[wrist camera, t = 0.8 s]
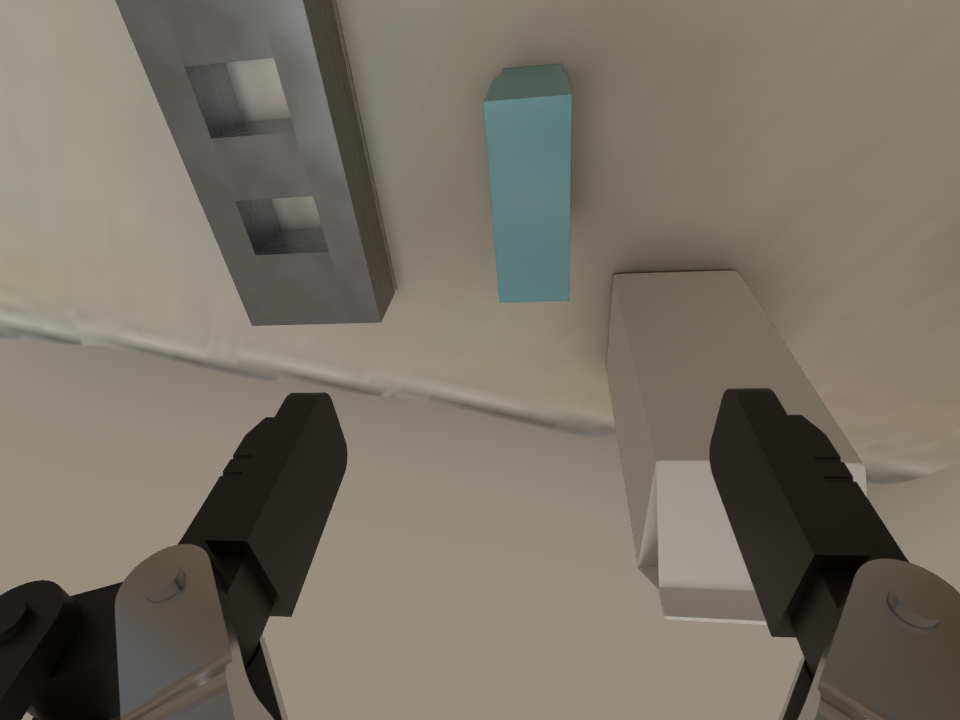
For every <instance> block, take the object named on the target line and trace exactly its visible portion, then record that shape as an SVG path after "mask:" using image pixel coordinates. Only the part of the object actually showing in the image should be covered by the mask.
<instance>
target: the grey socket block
mask: <svg viewBox="0 0 960 720" xmlns="http://www.w3.org/2000/svg"><path fill="white" fill-rule="evenodd" d="M116 3H117V5H118V7H119V10H120V12H121V15H122V17H123V19H124V22H125V24H126V26H127V29H128V31H129V34H130V36H131V38H132V41H133V43H134V46H135V48H136V50H137V53H138V55H139V57H140V60H141V62H142V65H143V67H144V69H145V72H146V74H147V76H148V79H149V81H150V84H151V86H152V88H153V91H154V93H155V96H156V98H157V100H158V103H159V105H160V107H161V110H162V112H163V115H164V117H165V119H166V122H167V124H168V126H169V129H170V131H171V134H172V136H173V138H174V141H175V143H176V146H177V148H178V150H179V153H180V155H181V157H182V160H183V162H184V165H185V167H186V169H187V172H188V174H189V176H190V179H191V181H192V184H193V186H194V188H195V191H196V193H197V196H198V198H199V200H200V203H201V205H202V207H203V210H204V212H205V215H206V217H207V219H208V222H209V224H210V226H211V229H212V231H213V234H214V236H215V238H216V241H217V243H218V245H219V248H220V250H221V253H222V255H223V257H224V260H225V262H226V265H227V267H228V269H229V272H230V274H231V276H232V279H233V281H234V284H235V286H236V288H237V291H238V293H239V295H240V298H241V300H242V303H243V305H244V307H245V310H246V312H247V315H248V317H249V319H250V322H251V324H252V326H260V325H299V324H338V323H377V322H381V321H382V319H383V317H384V315H385V313H386V311H387V308H388V306H389V304H390V302H391V300H392V298H393V295H394V293H395V291H396V289H397V288H396V283H395V279H394V274H393V269H392V265H391V260H390V255H389V250H388V246H387V241H386V236H385V232H384V227H383V222H382V217H381V213H380V208H379V203H378V199H377V194H376V189H375V184H374V180H373V175H372V170H371V166H370V161H369V156H368V151H367V147H366V142H365V137H364V133H363V128H362V123H361V118H360V114H359V109H358V104H357V99H356V95H355V90H354V85H353V81H352V76H351V71H350V66H349V62H348V57H347V52H346V48H345V43H344V38H343V33H342V29H341V24H340V19H339V15H338V10H337V5H336V0H116Z"/></svg>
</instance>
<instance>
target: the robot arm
mask: <svg viewBox="0 0 960 720" xmlns="http://www.w3.org/2000/svg"><path fill="white" fill-rule="evenodd" d="M233 457H234V458H233V459H231V460H230V461H229V463H228V465H227V466H226V468H225V469H224V471H223V476H220V477H219V479H218V481H217V482H216V484H215V486H214V487H213V489H212V491H211V492H210V494H209V495H208V497H207V499H206V500H205V502H204V503H203V505H202V507H201V509H200V510H199V512H198V513H197V515H196V517H195V518H194V520H193V521H192V523H191V525H190V526H189V528H188V529H187V531H186V533H185V534H184V536H183V537H182V539H181V541H180V542H179V543H178V545H174V546H171V547H167V548H165V549H163V550H160V551H158V552H156V553H155V554H153V555H151V556H150V557H148V558H147V559H145V560H144V561H142V562H141V563H140V564H139V565H138V566H137V567H135V569H133V571H132V572H131V573H130V574H129V575H128V576H127V577H126V579H125V580H124V582H121V583H117V584H114V585H110V586H106V587H103V588H99V589H96V590H92V591H88V592H84V593H81V594H77V595H74V596H69V595H68V594H67V593H66V592H65V591H64V590H63V589H62V588H61V587H60V586H59V585H58V584H56V583H54V582H51V581H44V580H42V581H34V582H29V583H26V584H23V585H20V586H18V587H15V588H13V589H11V590H9V591H7V592H6V593H4V594H2V595H0V720H21V719H22V718H23V716H24V714H25V713H26V712H28V713H29V714H30V715H32V716H33V719H32V720H288V717H287V714H286V710H285V707H284V703H283V700H282V697H281V693H280V690H279V686H278V683H277V680H276V676H275V673H274V669H273V666H272V663H271V659H270V656H269V653H268V649H267V646H266V642H265V639H264V637H263V635H262V633H263V630H264V628H265V626H266V623H267V621H268V618H269V616H286V617H291V616H292V614H293V611H294V608H295V605H296V603H297V600H298V597H299V595H300V592H301V589H302V587H303V584H304V581H305V578H306V575H307V573H308V570H309V568H310V565H311V562H312V560H313V557H314V554H315V552H316V549H317V546H318V543H319V541H320V538H321V535H322V533H323V530H324V527H325V525H326V522H327V519H328V516H329V514H330V511H331V508H332V506H333V502H334V500H335V497H336V495H337V492H338V489H339V487H340V484H341V481H342V479H343V476H344V473H345V469H346V465H347V446H346V442H345V439H344V436H343V432H342V429H341V427H340V423H339V420H338V417H337V414H336V412H335V409H334V405H333V402H332V399H331V398H330V396H329V395H328V394H327V393H291V394H289V395H288V396H287V397H286V399H285V400H284V402H283V404H282V405H281V407H280V409H279V411H278V412H277V414H276V416H275V417H269V418H268V417H266V418H265V419H264V420H262V421H261V422H260V423H259V424H258V425H257V426H255V427H254V428H253V429H252V430H251V431H250V432H249V433H247V434H246V435H245V437H244V439H243V440H242V442H241V443H240V445H239V447H238V448H237V450H236V452H235V453H234V455H233ZM709 459H710V467H711V472H712V475H713V478H714V481H715V484H716V486H717V489H718V492H719V495H720V497H721V500H722V503H723V505H724V508H725V511H726V514H727V516H728V519H729V522H730V524H731V527H732V530H733V533H734V535H735V538H736V541H737V544H738V546H739V549H740V552H741V554H742V557H743V560H744V563H745V565H746V568H747V571H748V573H749V576H750V579H751V582H752V584H753V587H754V590H755V592H756V595H757V598H758V601H759V603H760V606H761V609H762V612H763V614H764V617H765V620H766V622H767V625H768V627H769V631H770V633H771V636H772V637H796V638H797V640H798V642H799V645H800V647H801V650H802V652H803V655H804V656H803V658H802V660H801V662H800V664H799V667H798V669H797V672H796V674H795V677H794V680H793V682H792V685H791V688H790V690H789V693H788V696H787V698H786V701H785V704H784V706H783V709H782V712H781V714H780V717H779V720H960V593H959V592H958V591H957V590H956V589H955V588H954V587H952V586H951V585H950V584H949V583H947V582H946V581H945V580H943V579H942V578H940V577H939V576H937V575H935V574H934V573H932V572H930V571H928V570H926V569H924V568H922V567H920V566H917V565H915V564H912V563H910V562H909V561H908V560H907V558H906V557H905V556H904V554H903V553H902V551H901V550H900V548H899V547H898V545H897V544H896V542H895V540H894V539H893V537H892V536H891V534H890V533H889V531H888V530H887V528H886V526H885V525H884V523H883V522H882V520H881V519H880V517H879V516H878V514H877V513H876V511H875V509H874V508H873V507H872V505H871V503H870V502H869V500H868V499H867V497H866V496H865V494H864V492H863V491H862V489H861V488H860V486H859V485H858V483H857V482H854V481H853V475H852V474H851V472H850V471H849V469H848V468H847V466H846V465H845V463H844V462H841V457H840V455H839V454H838V452H837V451H836V449H835V448H834V446H833V445H832V443H831V441H830V440H829V438H828V437H827V435H826V434H825V433H824V432H822V431H821V430H820V429H819V428H817V427H816V426H815V425H814V424H812V423H811V422H810V421H809V420H807V419H806V418H805V417H804V416H802V415H787V413H786V411H785V409H784V408H783V406H782V404H781V403H780V401H779V399H778V398H777V396H776V394H775V393H774V392H773V391H772V390H771V389H769V388H739V389H727V390H726V391H725V392H724V394H723V396H722V400H721V404H720V408H719V412H718V415H717V419H716V423H715V427H714V431H713V435H712V438H711V442H710V449H709Z"/></svg>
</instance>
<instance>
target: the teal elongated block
mask: <svg viewBox="0 0 960 720" xmlns="http://www.w3.org/2000/svg"><path fill="white" fill-rule="evenodd" d="M571 109H572V94H571V89H570V85H569V81H568V77H567V72H563V70H562V65H561V64H552V65H541V66H530V67H519V68H508V69H503V70H502V72H501V75H500V77H499V78H494V80H493V82H492V84H491V86H490V89H489V91H488V93H487V95H486V97H485V99H484V114H485V127H486V139H487V152H488V165H489V177H490V190H491V202H492V215H493V227H494V240H495V253H496V265H497V278H498V290H499V303H502V302H535V301H569V268H570V189H571Z"/></svg>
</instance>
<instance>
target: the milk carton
mask: <svg viewBox="0 0 960 720" xmlns="http://www.w3.org/2000/svg"><path fill="white" fill-rule="evenodd" d="M606 370H607V376H608V382H609V389H610V395H611V401H612V407H613V414H614V420H615V426H616V432H617V439H618V445H619V451H620V458H621V464H622V469H623V476H624V482H625V489H626V495H627V501H628V508H629V514H630V520H631V526H632V533H633V539H634V545H635V551H636V558H637V564H638V569H639V570H640V571H641V572H642V573H643V574H644V575H645V576H646V577H647V578H648V579H649V580H650V581H651V582H652V583H653V584H654V585H655V586H656V587H657V589H658V590H659V594H660V600H661V605H662V610H663V616H664V618H665V619H669V620H688V621H707V622H726V623H746V624H764V625H767V622H766V620H765V617H764V614H763V612H762V609H761V606H760V603H759V601H758V598H757V595H756V592H755V590H754V587H753V584H752V582H751V579H750V576H749V573H748V571H747V568H746V565H745V563H744V560H743V557H742V554H741V552H740V549H739V546H738V544H737V541H736V538H735V535H734V533H733V530H732V527H731V524H730V522H729V519H728V516H727V514H726V511H725V508H724V505H723V503H722V500H721V497H720V495H719V492H718V489H717V486H716V484H715V481H714V478H713V475H712V472H711V467H710V459H709V449H710V442H711V438H712V435H713V431H714V427H715V423H716V419H717V415H718V412H719V408H720V404H721V400H722V396H723V394H724V392H725V391H726V390H727V389H739V388H769V389H771V390H772V391H773V392H774V393H775V394H776V396H777V398H778V399H779V401H780V403H781V404H782V406H783V408H784V409H785V411H786V413H787V415H802V416H804V417H805V418H806V419H807V420H809V421H810V422H811V423H812V424H814V425H815V426H816V427H817V428H819V429H820V430H821V431H822V432H824V433H825V434H826V435H827V437H828V438H829V440H830V441H831V443H832V445H833V446H834V448H835V449H836V451H837V452H838V454H839V455H840V457H841V462H844V463H845V465H846V466H847V468H848V469H849V471H850V472H851V474H852V475H853V481H854V482H857V483H858V485H859V486H860V488H861V489H862V491H863V492H864V494H865V496H866V497H867V491H866V471H865V465H864V464H863V463H862V461H861V460H860V458H859V457H858V455H857V454H856V452H855V451H854V449H853V447H852V446H851V444H850V443H849V441H848V440H847V438H846V437H845V435H844V434H843V432H842V431H841V429H840V427H839V426H838V424H837V423H836V421H835V420H834V418H833V417H832V415H831V414H830V412H829V411H828V409H827V407H826V406H825V404H824V403H823V401H822V400H821V398H820V397H819V395H818V394H817V392H816V391H815V389H814V387H813V386H812V384H811V383H810V381H809V380H808V378H807V377H806V375H805V374H804V372H803V371H802V369H801V367H800V366H799V364H798V363H797V361H796V360H795V358H794V357H793V355H792V354H791V352H790V351H789V349H788V348H787V346H786V344H785V343H784V341H783V340H782V338H781V337H780V335H779V334H778V332H777V331H776V329H775V328H774V326H773V324H772V323H771V321H770V320H769V318H768V317H767V315H766V314H765V312H764V311H763V309H762V308H761V306H760V304H759V303H758V301H757V300H756V298H755V297H754V295H753V294H752V292H751V291H750V289H749V288H748V286H747V284H746V283H745V281H744V280H743V278H742V277H741V275H740V274H739V273H738V272H737V271H694V272H661V273H628V274H615V275H614V276H613V286H612V299H611V312H610V325H609V338H608V351H607V364H606Z"/></svg>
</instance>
